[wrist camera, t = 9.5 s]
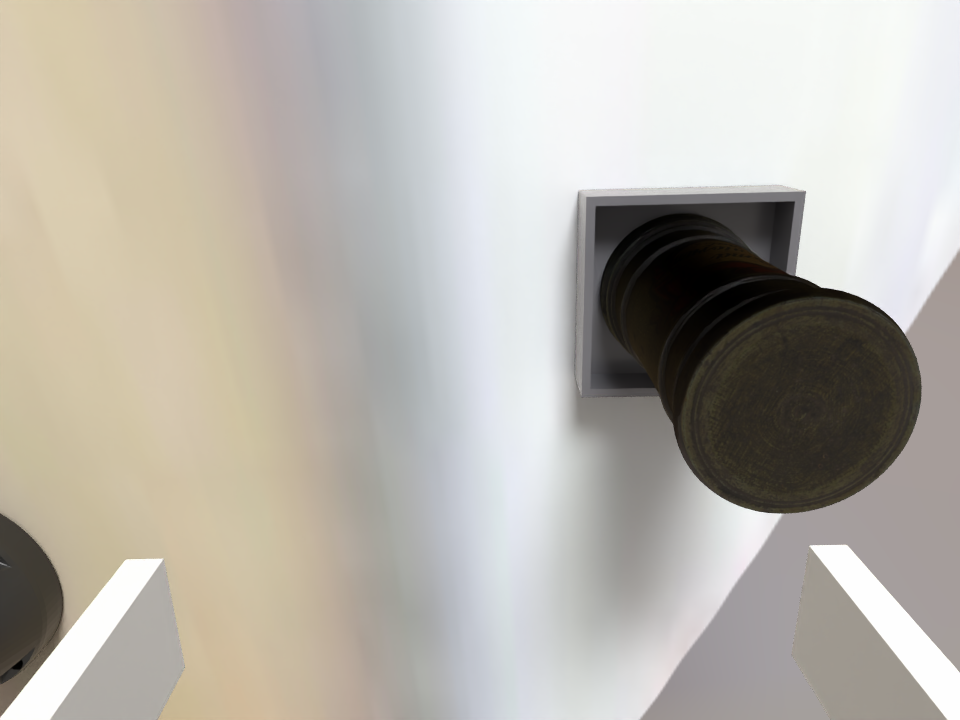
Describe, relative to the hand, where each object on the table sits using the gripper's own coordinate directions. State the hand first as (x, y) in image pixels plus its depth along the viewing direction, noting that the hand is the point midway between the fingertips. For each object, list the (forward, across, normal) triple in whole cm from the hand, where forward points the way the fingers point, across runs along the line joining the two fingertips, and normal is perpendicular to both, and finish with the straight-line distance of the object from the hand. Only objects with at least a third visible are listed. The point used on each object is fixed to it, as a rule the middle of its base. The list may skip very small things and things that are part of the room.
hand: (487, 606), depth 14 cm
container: (+28, +12, 0) cm, 30 cm away
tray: (+29, +12, 0) cm, 31 cm away
